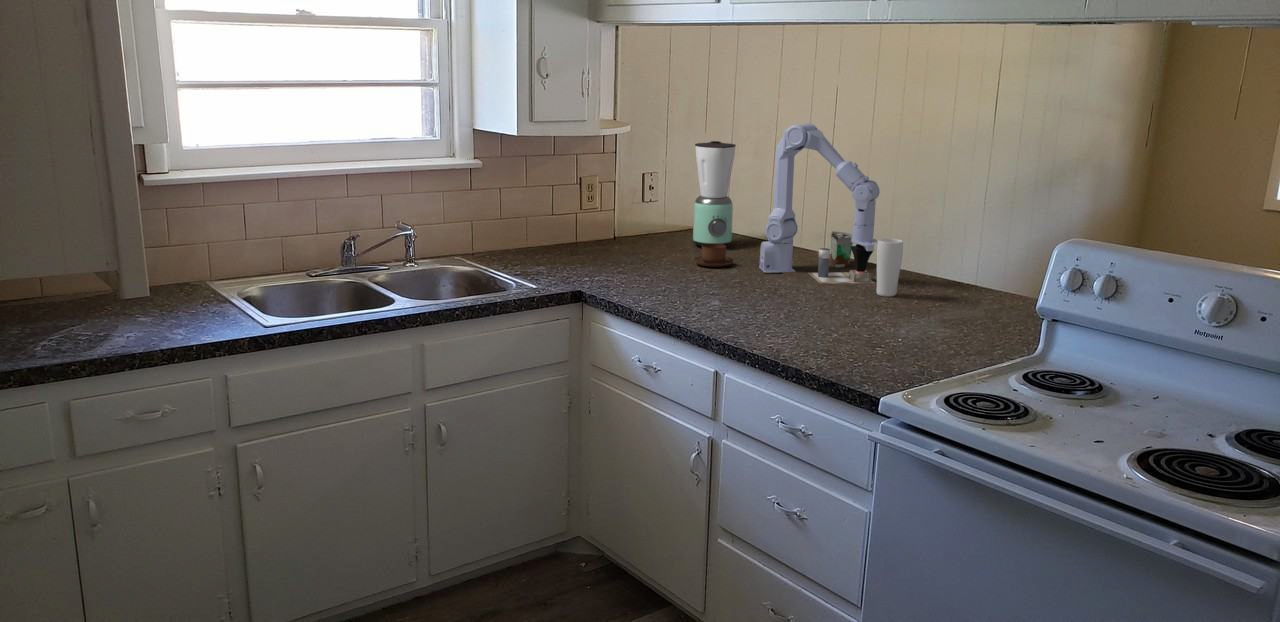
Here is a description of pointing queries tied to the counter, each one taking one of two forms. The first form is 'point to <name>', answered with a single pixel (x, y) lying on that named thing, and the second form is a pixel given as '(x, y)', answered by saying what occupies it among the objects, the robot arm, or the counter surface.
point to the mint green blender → (713, 194)
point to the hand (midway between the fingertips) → (860, 271)
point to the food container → (840, 249)
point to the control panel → (844, 277)
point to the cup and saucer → (713, 256)
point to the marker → (823, 262)
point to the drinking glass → (888, 266)
